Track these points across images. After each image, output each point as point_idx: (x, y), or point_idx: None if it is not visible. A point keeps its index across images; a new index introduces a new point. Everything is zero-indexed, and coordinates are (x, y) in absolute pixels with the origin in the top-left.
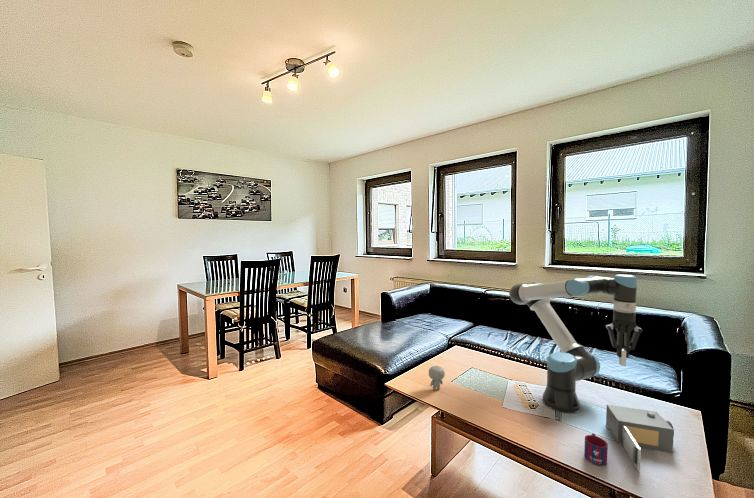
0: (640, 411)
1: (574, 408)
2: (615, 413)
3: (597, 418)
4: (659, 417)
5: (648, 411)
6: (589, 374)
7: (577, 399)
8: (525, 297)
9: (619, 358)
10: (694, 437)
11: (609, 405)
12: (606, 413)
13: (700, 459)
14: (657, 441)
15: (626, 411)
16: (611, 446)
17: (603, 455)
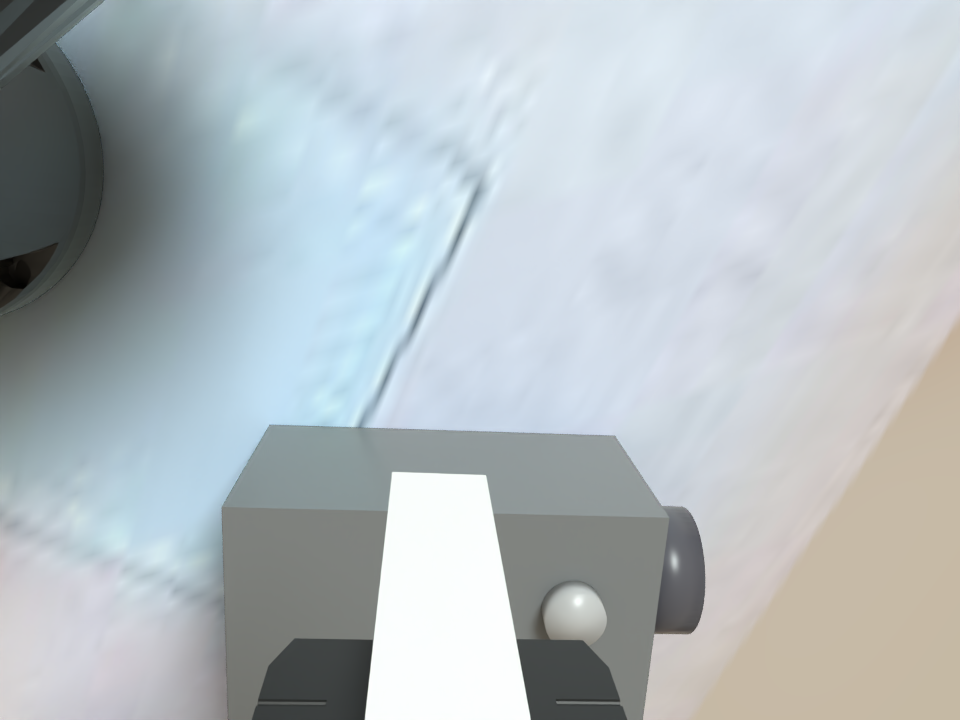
0: (511, 557)
1: (14, 305)
2: (248, 664)
3: (229, 336)
4: (632, 617)
5: (569, 594)
6: (50, 45)
7: (25, 226)
8: None
9: (383, 558)
10: (873, 411)
11: (244, 522)
12: (245, 468)
13: (726, 656)
14: None
15: (372, 594)
16: (217, 687)
17: None
